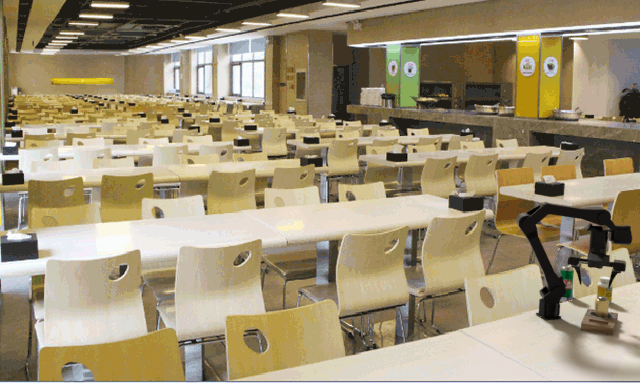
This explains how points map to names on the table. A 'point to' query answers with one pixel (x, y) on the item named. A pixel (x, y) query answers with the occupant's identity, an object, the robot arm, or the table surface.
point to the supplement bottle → (604, 288)
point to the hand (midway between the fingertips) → (594, 286)
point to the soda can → (567, 279)
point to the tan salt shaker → (601, 307)
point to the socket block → (599, 323)
